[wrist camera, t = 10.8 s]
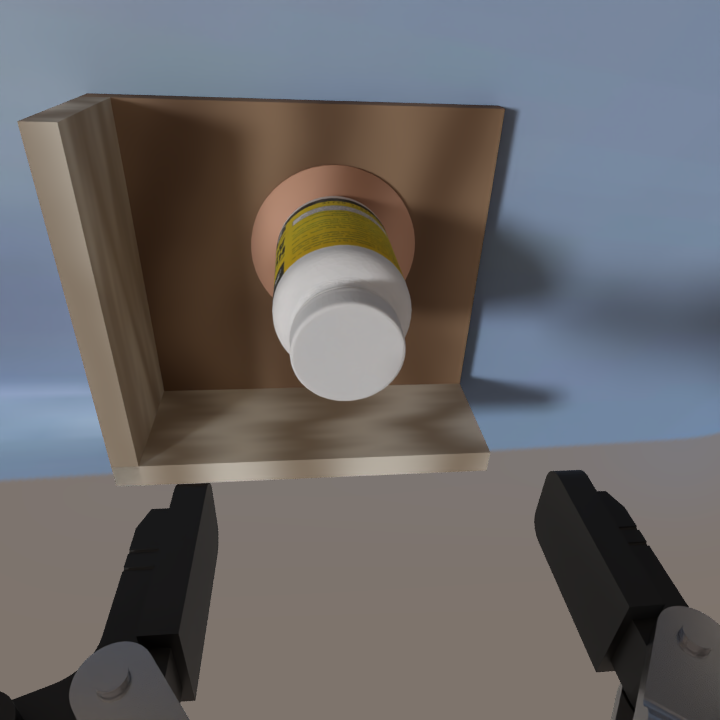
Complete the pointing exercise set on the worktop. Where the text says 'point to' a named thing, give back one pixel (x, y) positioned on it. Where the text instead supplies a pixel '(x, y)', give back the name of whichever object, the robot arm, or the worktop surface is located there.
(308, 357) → the supplement bottle
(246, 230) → the wooden l-shaped piece
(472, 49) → the worktop surface
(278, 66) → the worktop surface
